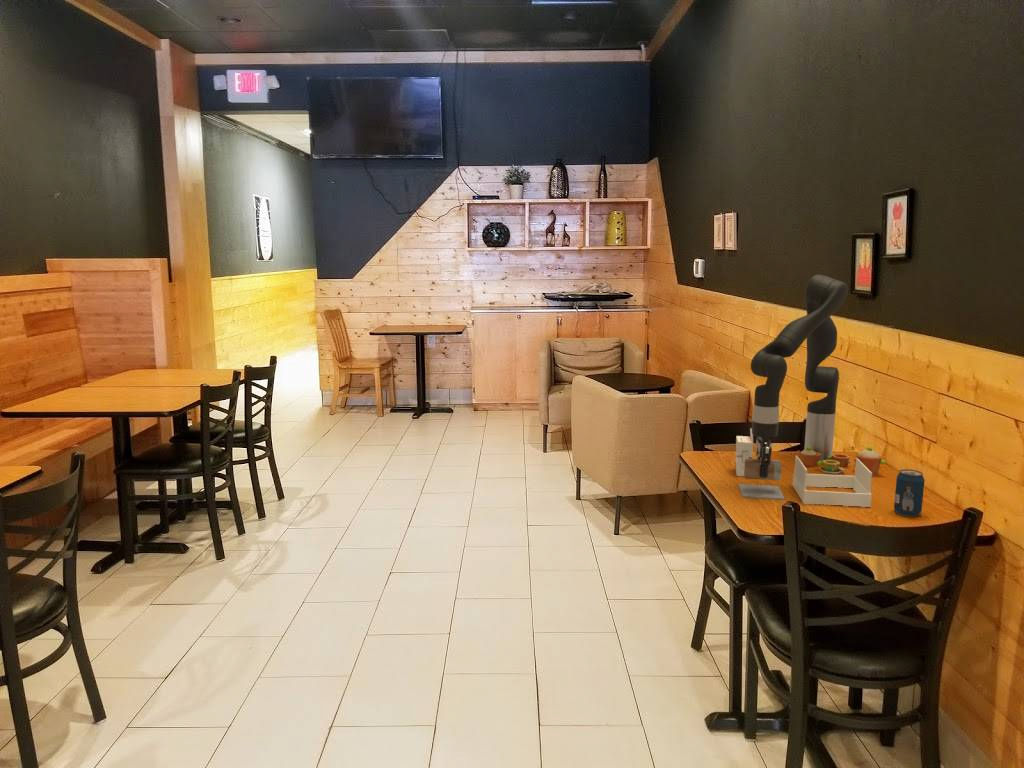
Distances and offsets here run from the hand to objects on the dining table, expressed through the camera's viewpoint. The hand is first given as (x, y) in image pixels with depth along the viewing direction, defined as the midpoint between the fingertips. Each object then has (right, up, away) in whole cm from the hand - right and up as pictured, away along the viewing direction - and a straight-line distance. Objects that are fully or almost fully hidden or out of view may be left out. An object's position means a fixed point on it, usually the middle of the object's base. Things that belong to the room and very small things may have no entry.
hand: (762, 474), depth 229 cm
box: (0, -1, 0) cm, 1 cm away
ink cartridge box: (+1, -2, +21) cm, 21 cm away
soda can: (+35, -9, -17) cm, 40 cm away
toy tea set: (+35, -2, +26) cm, 44 cm away
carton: (+20, -6, -2) cm, 21 cm away
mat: (0, -6, +1) cm, 6 cm away
